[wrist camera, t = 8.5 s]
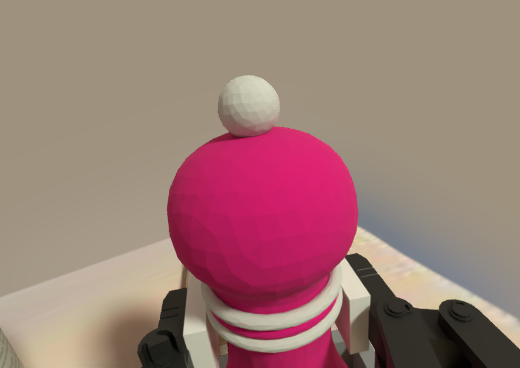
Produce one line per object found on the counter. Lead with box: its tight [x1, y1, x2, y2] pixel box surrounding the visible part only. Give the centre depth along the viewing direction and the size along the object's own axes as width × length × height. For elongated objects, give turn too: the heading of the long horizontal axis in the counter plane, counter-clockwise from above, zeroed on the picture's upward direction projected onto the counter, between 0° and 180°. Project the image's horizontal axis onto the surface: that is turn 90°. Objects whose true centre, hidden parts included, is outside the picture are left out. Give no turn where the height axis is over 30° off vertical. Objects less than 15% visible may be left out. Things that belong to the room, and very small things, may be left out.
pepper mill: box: [167, 75, 358, 368], centre depth 12 cm, size 7×7×20 cm
